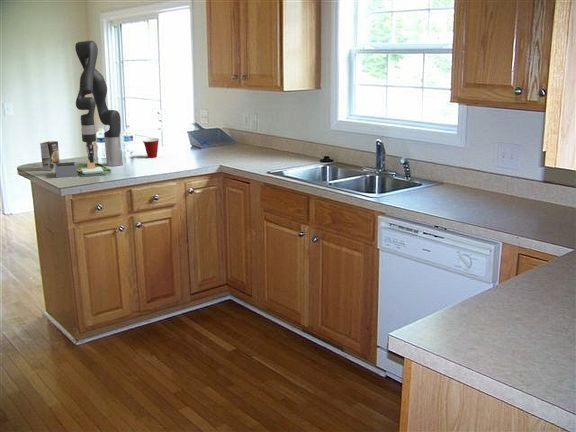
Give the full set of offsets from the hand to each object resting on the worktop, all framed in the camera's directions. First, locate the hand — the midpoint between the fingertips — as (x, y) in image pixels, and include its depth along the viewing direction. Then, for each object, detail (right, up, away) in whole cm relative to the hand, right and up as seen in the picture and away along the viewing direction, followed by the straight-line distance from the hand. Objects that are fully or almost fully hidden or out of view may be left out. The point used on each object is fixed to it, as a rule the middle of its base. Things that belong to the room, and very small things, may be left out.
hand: (91, 161), depth 352 cm
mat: (+1, -7, -1) cm, 7 cm away
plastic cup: (+23, +7, +51) cm, 57 cm away
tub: (-13, -8, -5) cm, 16 cm away
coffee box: (-27, -4, +13) cm, 30 cm away
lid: (+1, -6, -1) cm, 7 cm away
